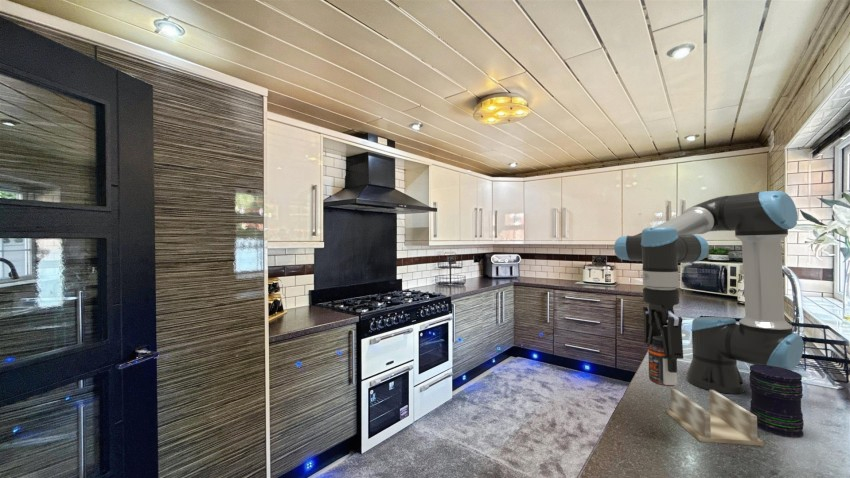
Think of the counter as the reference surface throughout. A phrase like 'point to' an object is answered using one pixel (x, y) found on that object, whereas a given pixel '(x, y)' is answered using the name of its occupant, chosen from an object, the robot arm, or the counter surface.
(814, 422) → the counter surface
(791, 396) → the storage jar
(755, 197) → the robot arm
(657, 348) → the supplement bottle
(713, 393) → the docking cradle
